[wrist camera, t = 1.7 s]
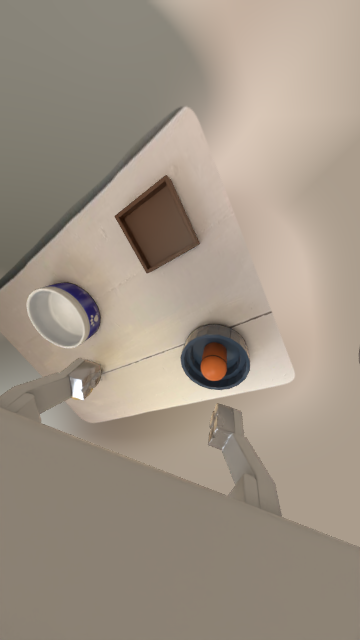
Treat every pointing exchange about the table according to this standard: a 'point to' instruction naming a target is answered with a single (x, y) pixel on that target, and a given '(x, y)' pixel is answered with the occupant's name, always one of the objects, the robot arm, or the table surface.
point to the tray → (157, 225)
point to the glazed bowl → (235, 356)
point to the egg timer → (214, 361)
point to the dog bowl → (63, 314)
